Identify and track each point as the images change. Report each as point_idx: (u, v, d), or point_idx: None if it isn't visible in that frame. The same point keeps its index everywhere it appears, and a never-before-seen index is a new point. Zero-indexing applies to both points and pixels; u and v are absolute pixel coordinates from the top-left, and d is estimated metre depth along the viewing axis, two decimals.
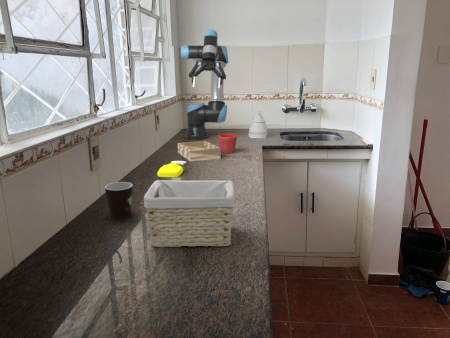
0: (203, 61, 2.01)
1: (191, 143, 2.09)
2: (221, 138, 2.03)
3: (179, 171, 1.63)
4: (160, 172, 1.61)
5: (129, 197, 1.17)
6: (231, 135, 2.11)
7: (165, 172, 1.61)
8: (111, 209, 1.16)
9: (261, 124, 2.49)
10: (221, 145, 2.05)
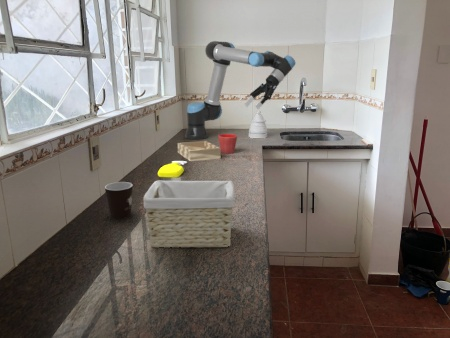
0: None
1: (191, 143, 2.09)
2: (221, 138, 2.03)
3: (179, 171, 1.63)
4: (160, 172, 1.61)
5: (129, 197, 1.17)
6: (231, 135, 2.11)
7: (165, 172, 1.61)
8: (111, 209, 1.16)
9: (261, 124, 2.49)
10: (221, 145, 2.05)
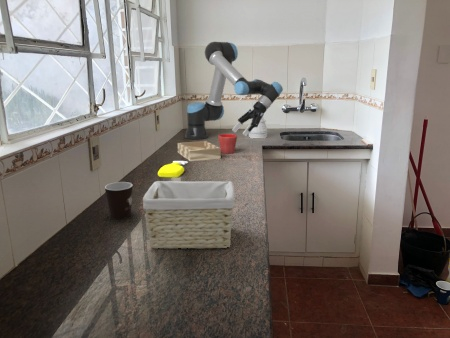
0: None
1: (191, 143, 2.09)
2: (221, 138, 2.03)
3: (179, 171, 1.63)
4: (160, 172, 1.61)
5: (129, 197, 1.17)
6: (231, 135, 2.11)
7: (165, 172, 1.61)
8: (111, 209, 1.16)
9: (261, 124, 2.49)
10: (221, 145, 2.05)
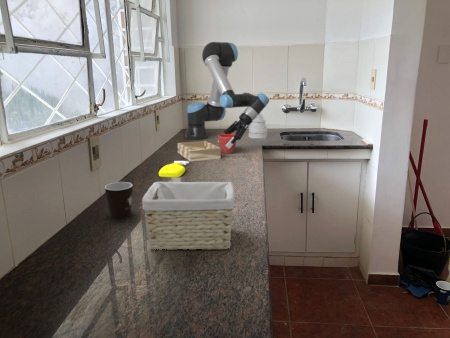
0: None
1: (191, 143, 2.09)
2: (221, 138, 2.03)
3: (180, 171, 1.63)
4: (161, 172, 1.61)
5: (129, 197, 1.17)
6: (231, 135, 2.11)
7: (166, 172, 1.61)
8: (111, 209, 1.16)
9: (261, 124, 2.49)
10: (221, 145, 2.05)
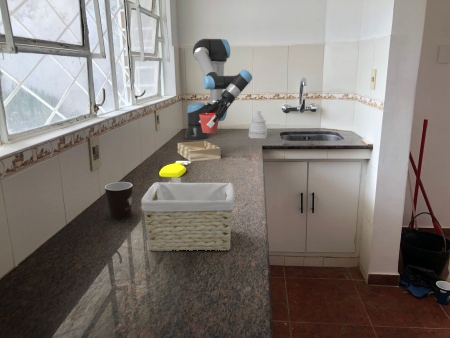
0: None
1: (191, 143, 2.09)
2: (202, 117, 1.94)
3: (181, 171, 1.63)
4: (162, 172, 1.62)
5: (129, 197, 1.17)
6: (213, 114, 2.02)
7: (167, 172, 1.61)
8: (111, 209, 1.16)
9: (261, 124, 2.49)
10: (202, 124, 1.96)
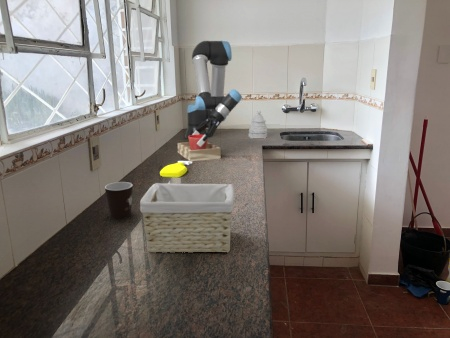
0: None
1: None
2: (191, 139, 1.95)
3: (181, 171, 1.63)
4: (162, 172, 1.62)
5: (129, 197, 1.17)
6: (202, 136, 2.03)
7: (167, 172, 1.61)
8: (111, 209, 1.16)
9: (261, 124, 2.49)
10: (191, 146, 1.97)
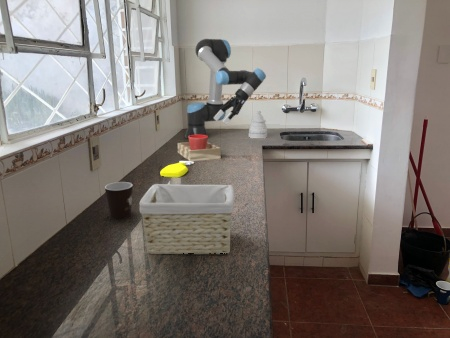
0: None
1: None
2: (191, 139, 1.95)
3: (181, 171, 1.63)
4: (162, 171, 1.62)
5: (129, 197, 1.17)
6: (202, 136, 2.03)
7: (167, 172, 1.61)
8: (111, 209, 1.16)
9: (261, 124, 2.49)
10: (191, 146, 1.97)
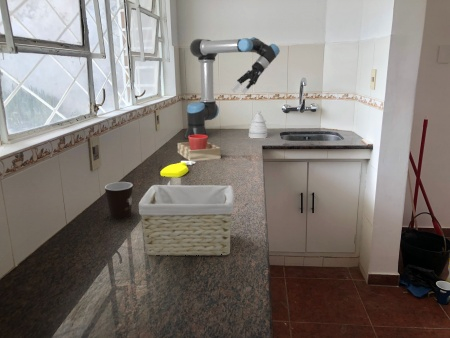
0: None
1: None
2: (191, 139, 1.95)
3: (182, 171, 1.63)
4: (163, 171, 1.62)
5: (129, 197, 1.17)
6: (202, 136, 2.03)
7: (167, 172, 1.62)
8: (111, 209, 1.16)
9: (261, 124, 2.49)
10: (191, 146, 1.97)
